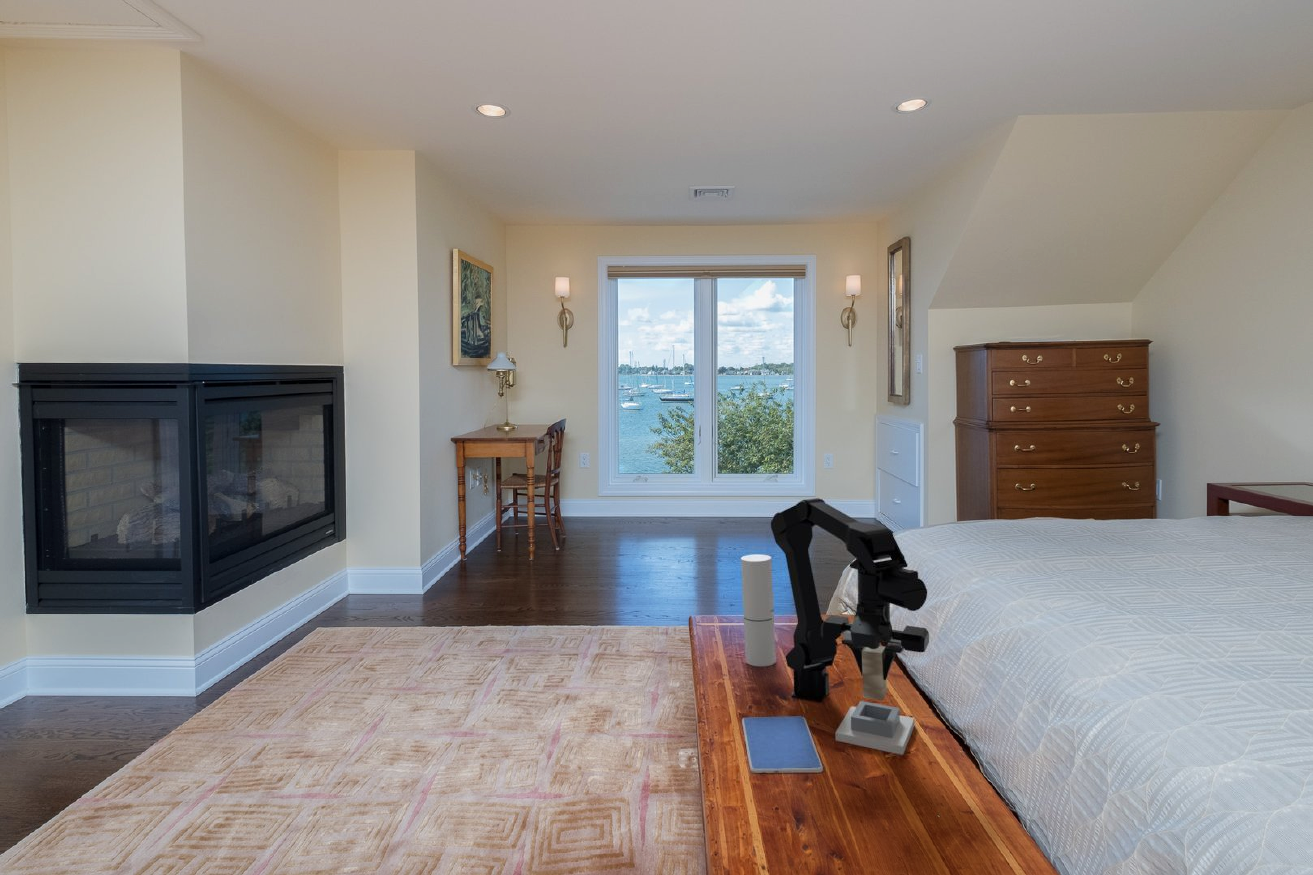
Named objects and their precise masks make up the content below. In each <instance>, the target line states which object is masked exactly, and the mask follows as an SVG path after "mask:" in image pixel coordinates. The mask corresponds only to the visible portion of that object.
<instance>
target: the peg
mask: <svg viewBox="0 0 1313 875" xmlns="http://www.w3.org/2000/svg"><path fill="white" fill-rule="evenodd" d="M885 647H886V646H882V645H879V647H878V648H877V649H870V648H868V647H864V648H863V650H862V675H861V677H862V697H863V699H869V700H876V701H879V702H880V701H882V702H883V701H884V699H885V698H886V696H887V690H888V689H887V679H886V680H884V678H883V670H884V661H885Z"/></svg>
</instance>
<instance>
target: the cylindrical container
mask: <svg viewBox="0 0 1313 875" xmlns="http://www.w3.org/2000/svg"><path fill="white" fill-rule="evenodd" d="M740 565H741V566H740V567H741V583H742V585H741V588H742V607H743V608H742V609H743V627H744V648H745V650H744V653H745V662H746V664H748V665H750V666H754V667H768V666H772V665H774V664H776V663H777V658H776V657H777V655H776V653H777V652H776V634H775V631H776V630H775V614H774V613H775V611H774V609H775V608H774V589H773V568H772V566H773V565H772V556H770V555H767V554H761V553H760V554H759V553H758V554H757V553H756V554H748V555H747V554H746V555H743V556H742V557H740ZM773 663H774V664H773Z"/></svg>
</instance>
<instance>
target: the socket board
mask: <svg viewBox="0 0 1313 875" xmlns="http://www.w3.org/2000/svg"><path fill="white" fill-rule="evenodd" d="M900 709H901V708H900V707H895V706H892V705H891V706H890V705H884V704H881V703H880V704H879V703H874V702H868V701H863V700H860V701H859V703H858V704H857V706H853V705H852V706H850V708H849V709H848V712H847V713H846V715H845V717H844V718H843V719H842V721H841V722H840V725H839V726H838V727H837V730H836V731H835V741H837V742H841V743H846V744H851V745H855V746H859V747H864V748H865V747H866V748H869V749H874V750H878V751H883V752H886V753H887V752H888V753H893V754H896V755H902V756H903V755H904V753H905V752H906V748H907V746H908V743H909V740H910V738H911V736H912V733H913V731H914V729H915V728H914V727H915V720H916V719H915V717H912V716H911V717H909V716H906V715H901V713H900V712H901V710H900Z"/></svg>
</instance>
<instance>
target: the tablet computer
mask: <svg viewBox="0 0 1313 875" xmlns="http://www.w3.org/2000/svg"><path fill="white" fill-rule="evenodd" d="M741 724H742V730H743V731H742V732H743V736H744V741H745V747H746V753H747V755H746V757H747V759H748V765H749V766H748V767H749V771H750V772H751V773H753V774H767V773H768V774H772V773H773V774H774V773H775V774H779V773H780V774H782V773H784V774H787V773H789V774H790V773H793V774H794V773H822V772H823V771H824V766H823V764H822V761H821V758H820V756H819V754H818V750H817V747H816V744H815V741H814V739H813V737H812V734H811V730H810V728H809V725H808V723H807V720H806V718H805V717H804V716H798V715H797V716H759V717H757V716H756V717H752V716H749V717H743V718H742V719H741Z"/></svg>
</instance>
